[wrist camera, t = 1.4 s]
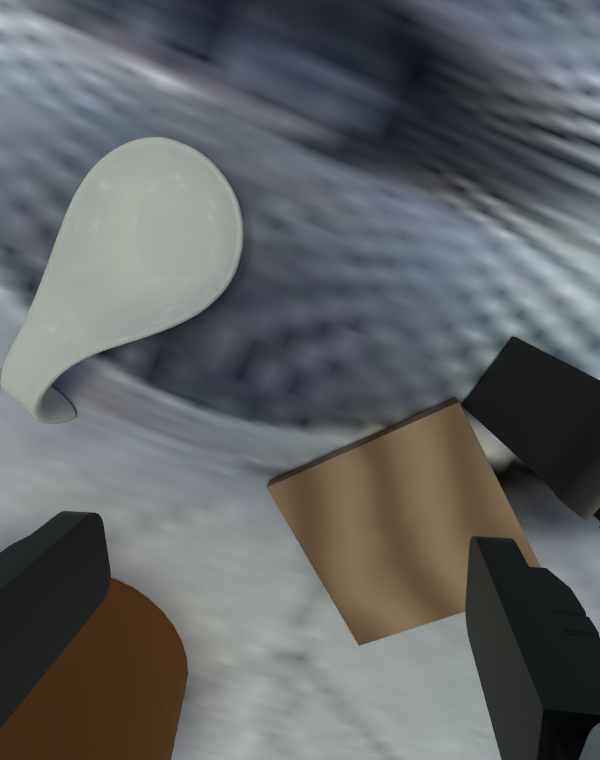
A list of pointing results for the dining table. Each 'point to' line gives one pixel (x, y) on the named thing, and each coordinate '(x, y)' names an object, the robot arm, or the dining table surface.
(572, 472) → the phone stand
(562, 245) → the dining table surface
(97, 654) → the flowerpot
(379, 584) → the walnut board
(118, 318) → the spoon rest
